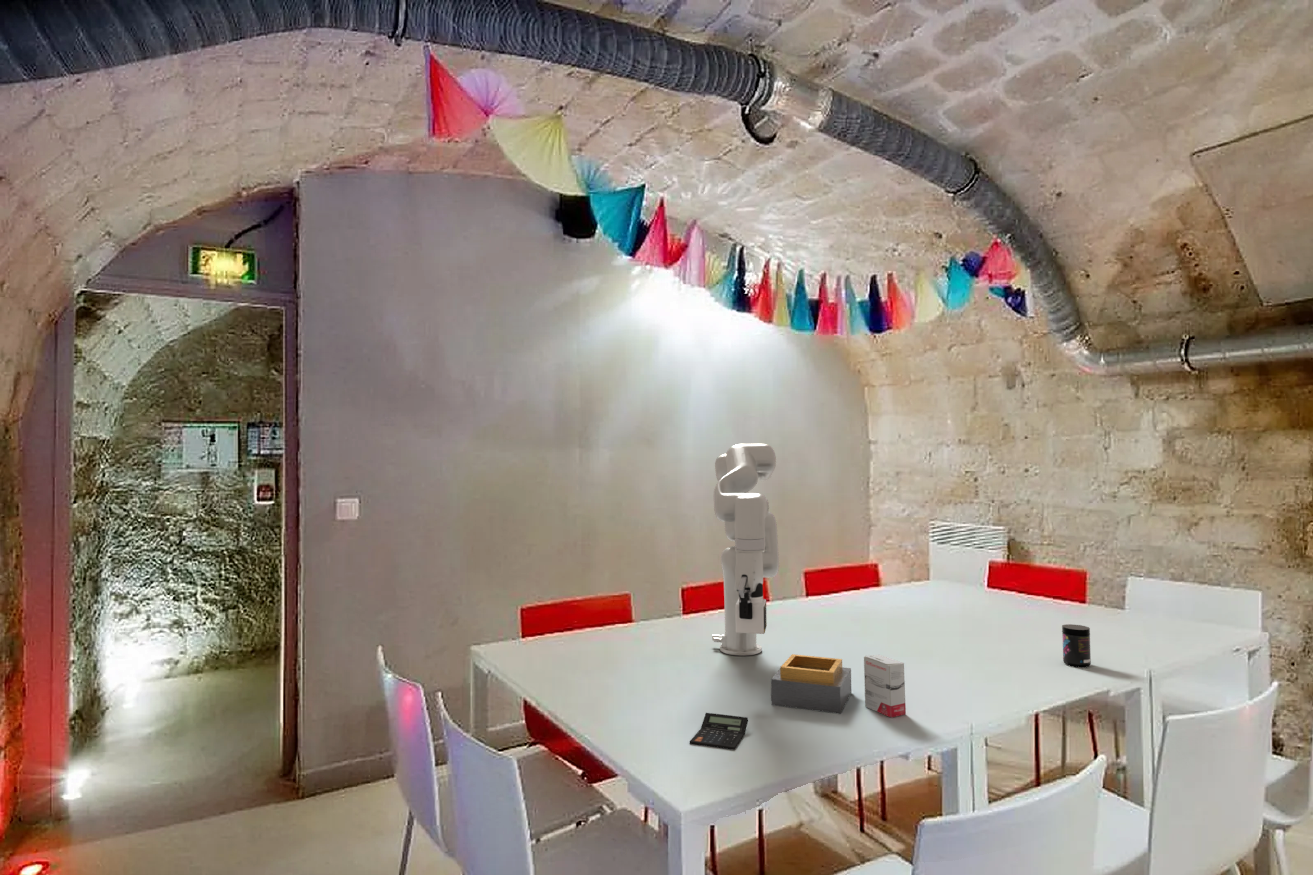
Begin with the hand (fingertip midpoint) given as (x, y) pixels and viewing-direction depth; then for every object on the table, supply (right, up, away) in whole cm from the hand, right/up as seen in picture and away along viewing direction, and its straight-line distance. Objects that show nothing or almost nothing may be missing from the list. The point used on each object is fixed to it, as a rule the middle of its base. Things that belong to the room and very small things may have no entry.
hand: (750, 614), depth 180 cm
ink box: (+29, -18, -16) cm, 38 cm away
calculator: (-11, -18, -30) cm, 37 cm away
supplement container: (+93, -19, +19) cm, 97 cm away
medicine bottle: (0, -4, 0) cm, 4 cm away
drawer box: (+14, -19, -6) cm, 24 cm away
